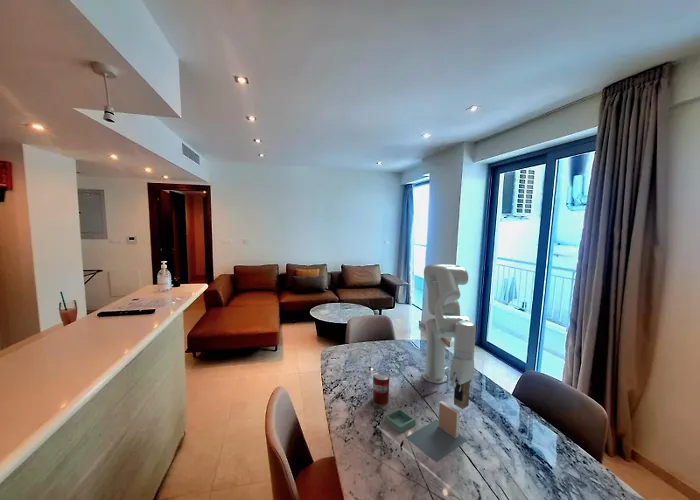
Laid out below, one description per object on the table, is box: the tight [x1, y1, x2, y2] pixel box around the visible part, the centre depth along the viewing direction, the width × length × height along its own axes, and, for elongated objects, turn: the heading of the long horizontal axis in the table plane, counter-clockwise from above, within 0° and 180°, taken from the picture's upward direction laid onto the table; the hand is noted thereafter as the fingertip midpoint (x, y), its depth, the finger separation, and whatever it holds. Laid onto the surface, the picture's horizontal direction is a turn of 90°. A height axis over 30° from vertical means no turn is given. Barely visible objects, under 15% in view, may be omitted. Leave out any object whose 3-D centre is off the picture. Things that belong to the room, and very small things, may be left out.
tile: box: [438, 400, 461, 438], centre depth 112 cm, size 2×8×10 cm, turn 36°
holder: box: [384, 407, 416, 434], centre depth 117 cm, size 9×9×3 cm
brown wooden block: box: [453, 380, 471, 410], centre depth 116 cm, size 4×4×12 cm
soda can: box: [372, 372, 390, 407], centre depth 132 cm, size 7×7×12 cm
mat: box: [405, 419, 468, 463], centre depth 109 cm, size 18×14×1 cm
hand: (461, 396), depth 117 cm, fingers closed on brown wooden block, 4 cm apart
